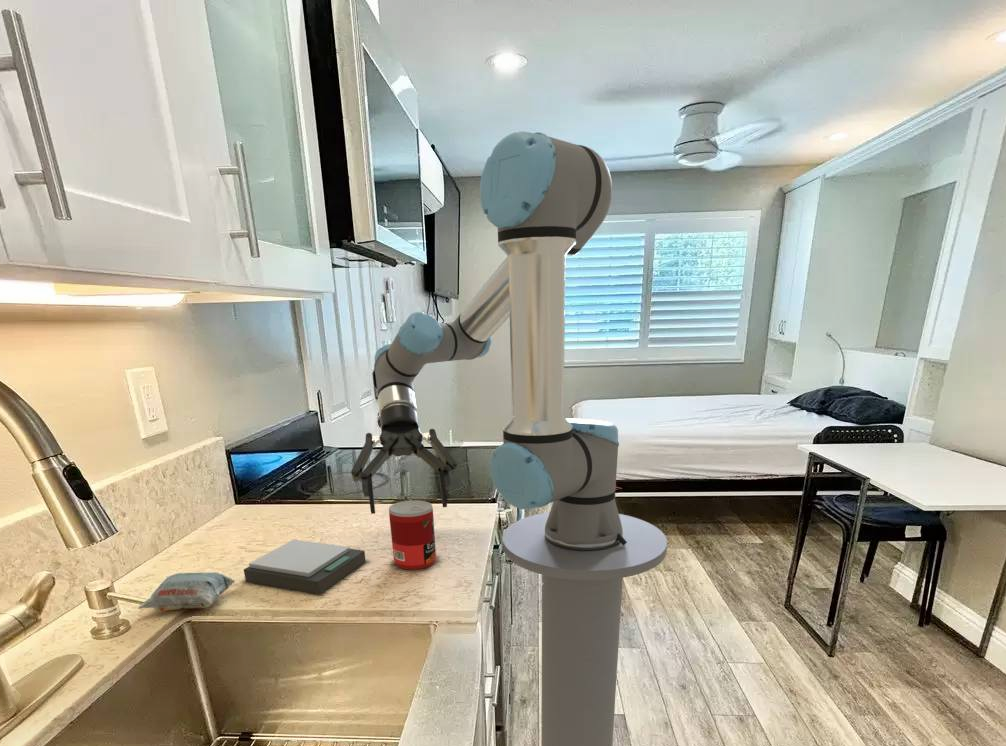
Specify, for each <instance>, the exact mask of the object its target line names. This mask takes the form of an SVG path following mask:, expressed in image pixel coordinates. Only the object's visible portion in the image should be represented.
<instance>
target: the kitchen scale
mask: <svg viewBox="0 0 1006 746" xmlns="http://www.w3.org/2000/svg"><path fill="white" fill-rule="evenodd" d="M366 562H367V560H366V551H365V550H364V549H358V548H357V549H356V548H351V547H350V546H344V545H338V544H331V543H324V542H316V541H308V540H302V539H301V540H300V539H291V540H290V541H288V542H286V543H285V544H282V545H281V546H279V547H276V548H275V549H273V550H272V551H270V552H267V553H266V554H263V555H262V556H260V557H258V558H256V559H254V560H252V561H251V562H249V563H248V566H247V567H245V568H244V569H243V575H244V579H245V582H247V583H252V584H258V585H264V586H270V587H276V588H282V589H288V590H293V591H297V592H304V593H310V594H316V595H321V594H322V593H324V592H326V590H327V591H328V589H329V588H332V586H334V585H336V584H337V583H338V582H339V581H341V580H342V579H344V578H345V577H347V576H348V575H350V574H351V573H352V572H354V571H355V570H356V569H358V568H359V567H361V566H362V565H364V564H365V563H366Z"/></svg>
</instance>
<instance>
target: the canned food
mask: <svg viewBox="0 0 1006 746" xmlns="http://www.w3.org/2000/svg"><path fill="white" fill-rule="evenodd" d="M388 516H389V527H390V536H391V545H392V554H393V555H392V556H393V560H394V561H393V562H394V563H395V566H397V567H398V568H401V569H405V570H420V569H425V568H428V567H430V566H432V565H433V564H434V563H435V562H436V558H437V550H436V549H437V548H436V535H435V519H434V518H435V517H434V509H433V504H431V502H428V501H424V500H420V499H419V500H417V499H415V500H401V501H399V502H396V503H393V504H391V505H390V506H389V507H388Z"/></svg>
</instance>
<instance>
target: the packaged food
mask: <svg viewBox="0 0 1006 746" xmlns="http://www.w3.org/2000/svg"><path fill="white" fill-rule="evenodd" d="M234 583H235V580H234V579H233V578H231V577H229V576H227V575H225V574H223V573H220V572H215V571H214V572H213V571H212V572H211V571H210V572H177V573H174V574H172V575H169V576H168V577H166V578H165V579H164V580H163V581H162V582H161V583H160V584H159V586H158V587H157V588H156V589H155V590H154V591H153V593H152V594H151V596H150V598H147V600H145V601H144V602H143V603H141V604H140V605H138V608H137V609H139V610H142V609H154V610H157V611H171V610H173V611H174V610H197V609H206V608H209V607H210V606H213V603H214V602H216V600H217V599H218V597H220V596H221V595H222V594H223V593H224V592H225V591H226V590H228V589H229V588H230V586H232V585H233V584H234Z"/></svg>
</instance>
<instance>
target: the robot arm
mask: <svg viewBox="0 0 1006 746" xmlns="http://www.w3.org/2000/svg"><path fill="white" fill-rule="evenodd" d="M479 184H480V185H479V196H480V197H479V199H480V200H479V201H480V205H481V209H482V211H483V213H484V214H485V215H486V219H487V220H488V221H489V222H490V224H492V225H493V226H494V227H496V228H497V246H498V247H499V248H500V250H501V251H503V253H504V254H505V255H506V257H505V259H504V260H503V261H502V263H501V264H500V265H499V266H498V267H497V269H496V270H495V271H494V272H493V273H492V275H491V276H490V277H489V278H488V280H487V281H486V282H485V283H484V284H483V286H482V287H481V288H480V289H479V290H478V292H477V293H476V295H475V296H474V297H473V298H472V299H471V300H470V301H469V302H468V304H467V305H466V306H465V308H464V309H463V310H462V311H461V313H459V315H458V316H457V317H456V318H455V320H454V321H451V322H439V321H438V320H437V319H436V318H435V317H434V316H433V315H431V314H426V313H425V312H423V311H415V312H413V313H411V314H410V315H409V316H408V317H407V318H406V320H405V321H404V322H403V324H402V325H401V326H400V327H399V329H398V332H397V334H396V335H395V337H394V339H393V340H392V343H387V344H384V345H383V346H382V347H379V348H378V349H377V350H376V351H375V354H374V363H373V364H374V365H373V371H374V375H375V382H376V383H375V384H376V391H377V401H378V402H377V403H378V413H379V421H380V431H381V433H380V435H373V434H372V433H371V432H367V433H366V434H365V443H364V445H363V446H362V449H361V450H360V453H359V455H358V457H357V458H356V461H355V462H354V465H353V467H352V469H351V470H350V471H351V472H350V474H351V478H352V480H353V481H354V482H360V483H361V491H362V495H363V497H364V498H367V497H368V498H369V508H370V514H371V515H372V514H376V506H375V496H374V495H375V494H374V483H373V477H374V476H375V474H376V473H377V472H378V471H379V470H380V468H381V467H382V466H383V465H384V464H385V462H386V461H388V460H389V459H390V458H391V457H392V456H395V457H396V458H397V457H401V456H406V457H407V456H408V457H409V456H412V455H415V456H416V457H417V458H420V459H421V460H423V461H424V462H425V463H426V464H427V465H428V466H430V467H431V468H432V469H433V470H435V471H436V472H437V473H438V484H439V490H440V497H441V504H442V508H447V507H448V495H447V491H450V489H451V477H450V475H451V474H456V473H457V469H458V463H457V462H456V461H455V459H454V458H453V456H452V455H451V454H450V452H449V450H447V449H446V447H445V445H444V444H443V443H442V442H441V441H440V440H439V438H438V434H437V432H436V430H435V429H434V428H430V429H429V431H428V432H427V431H426V432H422V431H421V430H420V425H419V418H418V412H417V410H418V409H417V402H416V395H415V388H414V387H415V386H414V381H415V379H416V377H417V376H418V375H419V374H420V372H421V371H422V370H423V368H424V366H425V365H427V364H434V363H436V364H437V363H443V362H444V363H445V362H453V361H464V360H465V361H467V360H468V361H470V360H475V359H479V358H482V357H484V356H485V355H487V354H488V353H489V351H490V347H491V345H492V336H493V335H494V333H496V331H498V329H500V327H501V326H502V325H504V323H505V322H506V321H507V320H508V319H509V341H510V342H509V349H510V350H509V351H510V391H511V392H510V393H511V400H510V401H511V417H510V419H509V420H508V421H507V422H506V423H505V424H504V425H503V426H502V432H503V433H502V442H503V443H502V444H500V445H498V446H497V448H495V450H494V453H492V454H491V457H490V460H489V473H490V477H491V480H492V481H491V482H492V484H493V486H494V488H495V489H496V491H497V493H498V494H500V495H501V497H502V499H503V500H504V501H505V502H507V504H509V505H511V506H513V508H516V509H520V510H533V509H535V508H543V507H545V506H548V505H549V504H552V505H551V507H550V510H549V512H550V513H549V516H548V519H547V522H546V525H545V539H546V540H547V541H548V542H549V543H550V544H552V545H554V546H557V547H559V548H563V549H567V550H574V551H599V550H605V549H609V548H612V547H614V546H616V545H618V544H619V543H620V542H621V543H622V544H623V545H625V544H626V543H627V541H626V540H625V539H624V538H623V529H622V524H621V521H620V517H619V514H620V513H619V509H618V506H617V503H616V487H617V472H618V471H617V469H618V456H619V455H618V453H619V446H620V442H619V429H618V427H617V425H615V424H614V423H612V422H609V421H603V420H597V419H596V420H595V419H584V418H566V417H565V415H564V414H565V413H564V411H565V409H564V408H565V404H564V403H565V395H564V394H565V337H566V336H565V333H566V332H565V330H566V329H565V326H566V259H567V258H566V257H567V256H576V255H577V254H578V253H579V252H580V251H581V250H582V249H583V248H584V247H585V246H586V245H587V244H588V243H589V242H590V241H591V239H592V238H593V237H594V236H595V235H596V233H597V232H598V230H599V229H600V227H601V226H602V224H603V223H604V221H605V219H606V218H607V215H608V213H609V210H610V207H611V204H612V198H613V181H612V175H611V172H610V169H609V167H608V164H606V161H605V159H604V158H603V157H602V156H601V155H600V154H599V153H598V152H596V150H594V149H593V148H590V147H589V146H585V145H581V144H576V143H572V142H569V141H565V140H562V139H558V138H555V137H551V136H549V135H547V134H545V133H542V132H538V131H537V132H530V131H522V130H521V131H515V132H512V133H510V134H508V135H505V137H503V138H502V139H501V140H499V142H498V143H496V145H495V146H494V147H493V149H492V152H491V154H490V156H488V157H487V159H486V160H485V163H484V166H483V169H482V172H481V178H480V183H479ZM423 441H426V443H427V444H428V445H430V446H431V448H432V449H433V451H434V452H435V453H436V454H437V456H438V457H439V458H438V457H437V456H436V455H435V454H434V453H433V452H431V451H430V450H429V449H427V448H426V447H425V446H424V443H422V442H423ZM378 444H380V445H381V448H380V450H379V452H378V453H377V454H376V455H375V457H374V458H373V459H372V460H371V461H370V462H369V464H367V463H368V460H369V459H370V456H371V455H372V452H373V448H376V447H377V445H378ZM366 465H367V466H366Z"/></svg>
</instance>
